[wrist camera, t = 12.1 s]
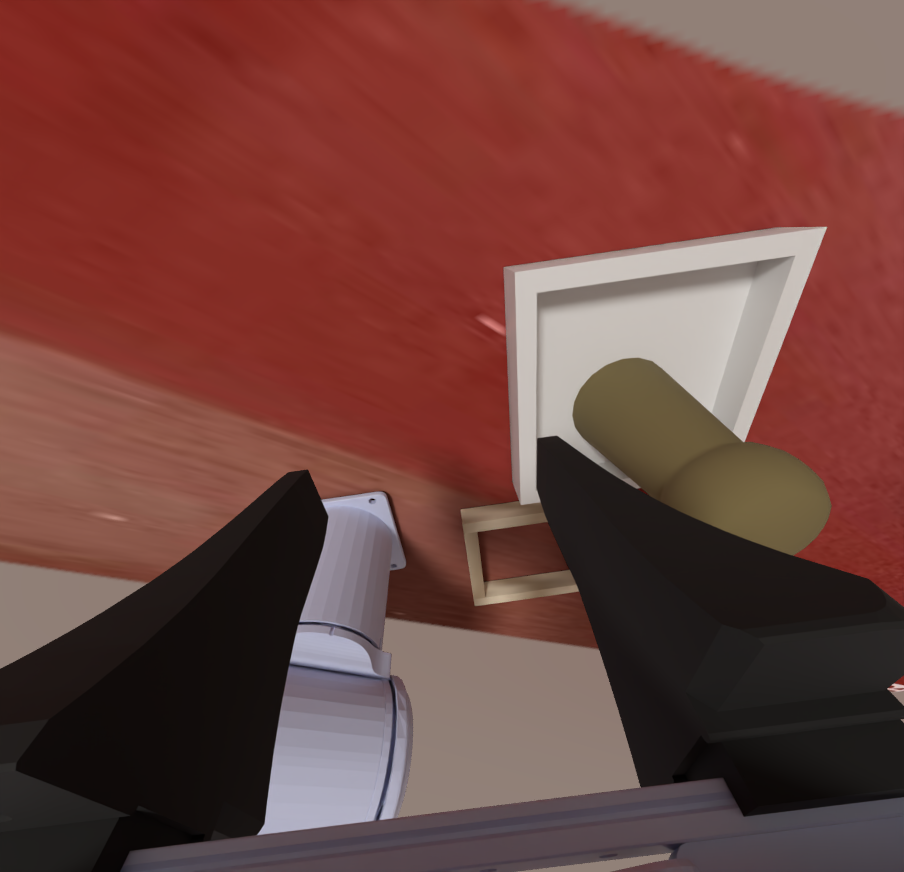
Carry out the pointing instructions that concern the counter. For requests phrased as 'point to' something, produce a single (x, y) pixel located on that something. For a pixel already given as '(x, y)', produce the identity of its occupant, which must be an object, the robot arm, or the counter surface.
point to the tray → (649, 329)
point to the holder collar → (511, 587)
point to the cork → (698, 458)
